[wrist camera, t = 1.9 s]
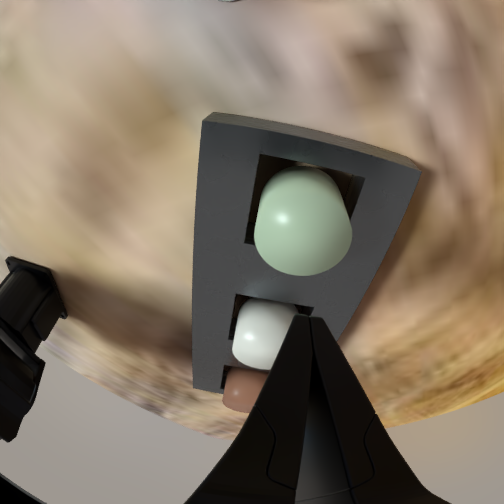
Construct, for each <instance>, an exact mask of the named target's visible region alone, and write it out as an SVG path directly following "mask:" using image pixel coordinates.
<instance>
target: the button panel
mask: <svg viewBox="0 0 504 504" xmlns="http://www.w3.org/2000/svg"><path fill="white" fill-rule="evenodd" d="M260 154H264V155H270V156H275V157H280V158H285V159H290V160H295V161H299V162H304V163H308V164H313V165H317V166H322V167H326V168H330V169H334V170H338V171H342V172H346V173H350V174H353V175H352V178H351V181H350V184H349V187H348V190H347V193H346V196H345V199H344V205H345V208H346V211H347V214H348V218H349V221H350V224H351V228H352V241H351V245H350V248H349V250H348V252H347V253H346V255H345V256H344V258H343V259H342V260H341V261H340V262H339V263H338V264H336V265H335V266H334V267H332V268H330V269H329V270H327V271H324V272H322V273H318V274H315V275H308V276H297V275H291V274H286V273H283V272H281V271H279V270H276V269H275V268H273V267H272V266H270V265H269V264H268V263H267V262H266V261H265V260H264V259H263V258H262V257H261V255H260V254H259V252H258V250H257V248H256V245H255V240H254V232H255V226H256V224H254V223H248V222H249V216H250V211H251V205H252V199H253V194H254V188H255V182H256V176H257V171H258V165H259V160H260ZM421 173H422V171H421V170H420V169H419V168H418V167H417V166H416V165H415V164H414V163H413V162H412V161H411V160H410V159H409V158H408V157H406V156H403V155H400V154H397V153H394V152H391V151H388V150H385V149H382V148H379V147H375V146H372V145H369V144H365V143H362V142H359V141H355V140H352V139H348V138H344V137H341V136H337V135H333V134H329V133H325V132H321V131H317V130H312V129H308V128H304V127H299V126H294V125H290V124H285V123H280V122H274V121H269V120H263V119H258V118H252V117H245V116H239V115H232V114H224V113H217V112H213V113H211V114H210V115H209V116H207V117H206V118H205V119H204V120H202V129H201V140H200V151H199V163H198V176H197V190H196V206H195V224H194V247H193V280H192V368H193V388H196V389H200V390H205V391H210V392H215V393H220V394H224V389H225V384H226V378H227V373H228V372H225V371H224V365H228V366H233V367H239V368H245V369H251V370H257V371H264V372H270V370H266V369H258V368H253V367H250V366H247V365H245V364H243V363H242V362H240V361H239V360H238V359H237V358H236V357H235V356H234V354H233V351H232V347H233V342H234V336H235V331H236V325H237V320H238V319H233V318H232V316H233V310H234V304H235V298H236V294H241V295H246V296H252V297H257V298H263V299H268V300H274V301H280V302H286V303H292V304H298V305H304V308H303V311H302V313H301V314H303V315H307V316H308V317H309V316H317V317H322V318H323V319H324V321H325V323H326V324H327V326H328V328H329V329H330V331H331V333H332V335H333V336H334V338H335V340H336V342H337V340H338V338H339V337H340V335H341V334H342V332H343V330H344V329H345V327H346V325H347V324H348V322H349V320H350V319H351V317H352V315H353V314H354V312H355V310H356V308H357V307H358V305H359V303H360V301H361V300H362V298H363V296H364V294H365V292H366V291H367V289H368V287H369V285H370V283H371V281H372V279H373V278H374V276H375V274H376V272H377V270H378V268H379V266H380V264H381V262H382V260H383V258H384V256H385V254H386V252H387V250H388V248H389V246H390V244H391V242H392V240H393V238H394V236H395V233H396V231H397V229H398V227H399V225H400V223H401V220H402V218H403V216H404V214H405V211H406V209H407V207H408V204H409V202H410V200H411V197H412V195H413V193H414V190H415V188H416V185H417V183H418V180H419V178H420V175H421Z"/></svg>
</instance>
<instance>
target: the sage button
mask: <svg viewBox="0 0 504 504" xmlns="http://www.w3.org/2000/svg"><path fill="white" fill-rule="evenodd" d="M254 240H255V245H256V248H257V250H258V252H259V254H260V255H261V257H262V258H263V259H264V260H265V261H266V262H267V263H268V264H269V265H270V266H272V267H273V268H275V269H276V270H279V271H281V272H283V273H286V274H291V275H297V276H308V275H315V274H318V273H322V272H324V271H327V270H329V269H330V268H332V267H334V266H335V265H336V264H338V263H339V262H340V261H341V260H342V259H343V258H344V256H345V255H346V253H347V252H348V250H349V248H350V245H351V241H352V228H351V224H350V221H349V218H348V214H347V211H346V208H345V205H344V202H343V199H342V196H341V194H340V191H339V188H338V186H337V184H336V183H335V181H334V180H333V179H332V178H331V177H330V176H329V175H328V174H326V173H325V172H323V171H321V170H319V169H317V168H314V167H310V166H292V167H288V168H285V169H283V170H281V171H279V172H277V173H276V174H274V175H273V176H272V177H271V178H270V179H269V180H268V181H267V183H266V184H265V186H264V188H263V190H262V193H261V198H260V203H259V209H258V215H257V220H256V226H255V232H254Z"/></svg>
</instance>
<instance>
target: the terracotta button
mask: <svg viewBox="0 0 504 504" xmlns="http://www.w3.org/2000/svg"><path fill="white" fill-rule="evenodd" d="M268 374H269V372H264V371H257V370H251V369H245V368H239V367H233V366H232V367H230V368H229V369H228V373H227V378H226V384H225V389H224V395H223V400H222V402H223V404H224V405H225V406H226V407H228V408H230V409H232V410H235V411H239V412H244V413H250V411H251V409H252V407H253V406H254V404H255V402H256V399H257V397H258V395H259V393H260V391H261V389H262V387H263V385H264V382H265V380H266V378H267V376H268Z"/></svg>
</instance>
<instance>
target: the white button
mask: <svg viewBox="0 0 504 504" xmlns="http://www.w3.org/2000/svg"><path fill="white" fill-rule="evenodd" d="M295 314H299V313H298V310H297V308H296V307H295V305H294V304H292V303H286V302H280V301H274V300H268V299H263V298H257V297H253V298H250V299H248V300H247V301H245V302H244V303H243V304H242V305H241V307H240V309H239V314H238V320H237V325H236V331H235V336H234V342H233V347H232V351H233V354H234V356H235V357H236V358H237V359H238V360H239V361H240V362H242V363H243V364H245V365H247V366H250V367H253V368H258V369H266V370H270V369H271V367H272V365H273V363H274V361H275V358H276V356H277V354H278V352H279V349H280V347H281V345H282V343H283V340H284V338H285V336H286V333H287V331H288V329H289V326H290V324H291V322H292V319H293V317H294V315H295Z"/></svg>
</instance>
